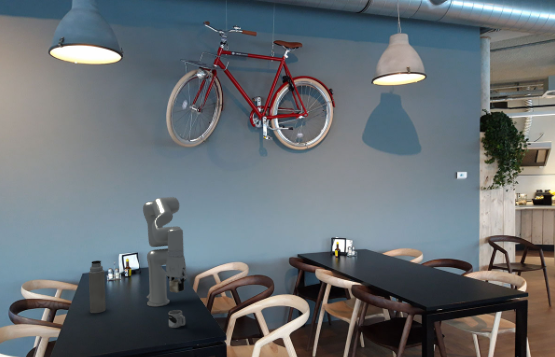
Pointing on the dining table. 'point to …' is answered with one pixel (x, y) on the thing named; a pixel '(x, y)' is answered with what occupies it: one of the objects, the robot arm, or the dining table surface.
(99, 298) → the thermos bottle
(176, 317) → the mug
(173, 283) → the birch cube
